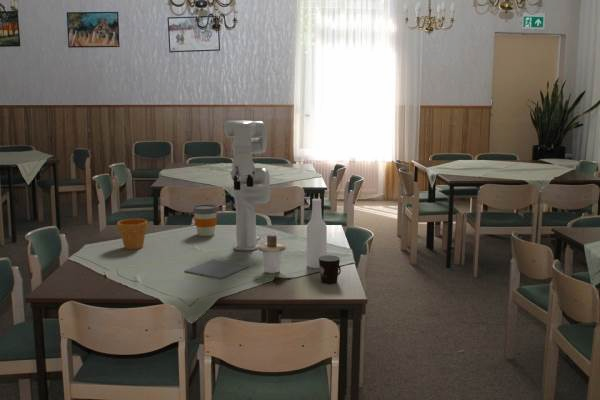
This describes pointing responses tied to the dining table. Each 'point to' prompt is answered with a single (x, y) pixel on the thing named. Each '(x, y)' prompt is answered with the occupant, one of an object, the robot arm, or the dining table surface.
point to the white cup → (272, 261)
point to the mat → (217, 269)
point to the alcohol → (316, 236)
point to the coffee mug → (329, 268)
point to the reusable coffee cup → (205, 219)
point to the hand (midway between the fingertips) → (243, 188)
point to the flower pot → (132, 232)
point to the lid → (271, 245)
